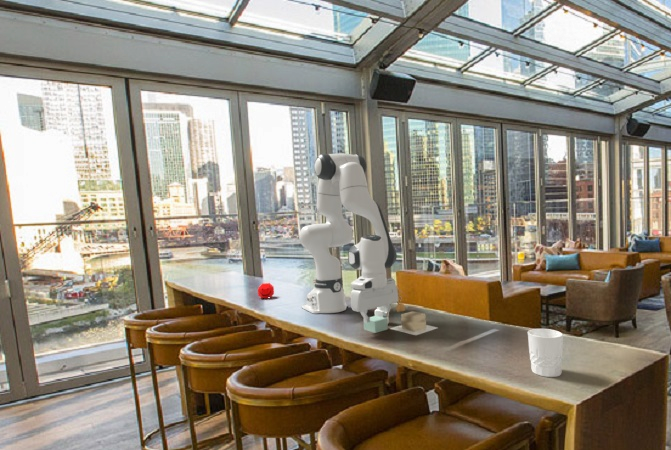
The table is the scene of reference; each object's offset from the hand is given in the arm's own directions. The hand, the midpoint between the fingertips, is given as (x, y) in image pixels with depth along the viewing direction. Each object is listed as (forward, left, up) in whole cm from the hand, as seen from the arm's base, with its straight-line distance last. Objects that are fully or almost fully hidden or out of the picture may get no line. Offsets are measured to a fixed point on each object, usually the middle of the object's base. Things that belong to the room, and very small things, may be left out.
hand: (376, 319), depth 144 cm
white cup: (+56, +5, -5) cm, 57 cm away
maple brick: (+8, +10, -4) cm, 13 cm away
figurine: (-13, +25, -5) cm, 28 cm away
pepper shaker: (-5, +7, -5) cm, 10 cm away
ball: (-90, +4, -5) cm, 90 cm away
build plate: (+8, +10, -5) cm, 14 cm away
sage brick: (-1, 0, -5) cm, 5 cm away
